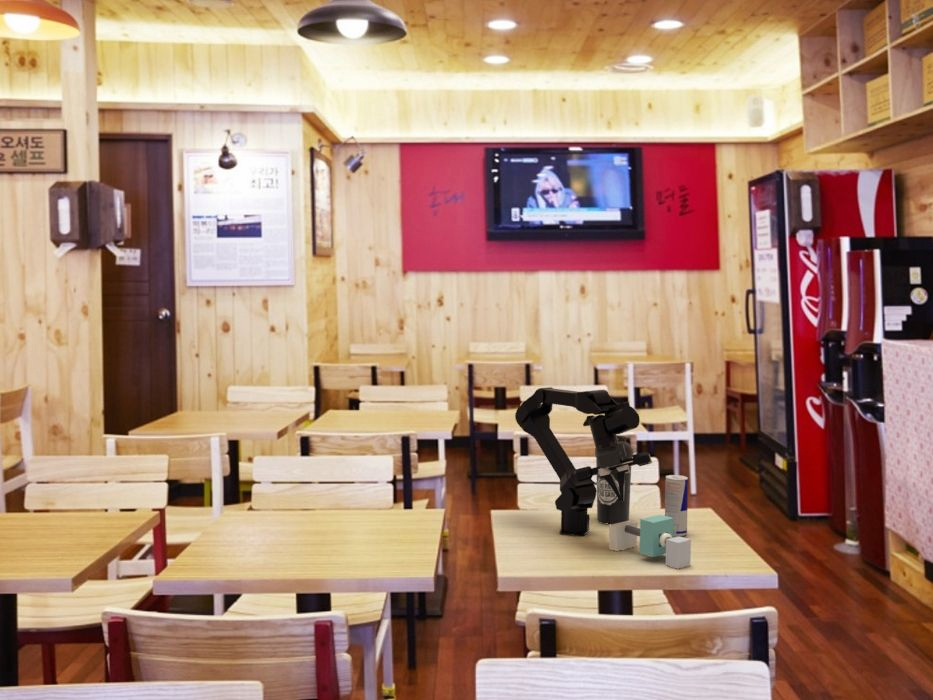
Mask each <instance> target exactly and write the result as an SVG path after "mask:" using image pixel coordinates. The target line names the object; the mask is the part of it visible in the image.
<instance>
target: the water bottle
mask: <svg viewBox="0 0 933 700" xmlns="http://www.w3.org/2000/svg"><path fill="white" fill-rule="evenodd" d="M616 436H617V439H618V443H619V444H620V443H623V445H624V448H625V452H626V457H624V458H623V460H627V459H631V458H633V456H632V455H634V449H633V448H632V446H631V445H630V443H628V442H627V440H628V439H627V436H624V435H620V434H616ZM594 457H595V458H596V459H595V461H596V463H595V467H599V464H598V460H597V451H596V447H595V448H594ZM619 464H621V463H619ZM607 467H609V466H607ZM629 470H630V473H627V475H626V481H625V490H624V501H623V502H620V500H619V499H618V497H617V495H616V494H615V492H614V491H613V489H612V488H611V486H610V485H609V484H608V482H607V481H606V480H605V479H600V478H599V477H600V475H599V474H597V475H596V490H597V492H596V508H597V510H596V512H597V513H596V514H597V516H596V517H597V518H596V519H597V520H598V521H599V522H598V521H597V522H598V523H600V522H602V523H601V524H603V523H608V524H616V523H620V522H625V521H629V520H630V505H631V504H630V502H631V483H632V482H631V478H632V466H629ZM616 472H618V471H617V470H613V471H611V473H610V474H612V475H613V476H614V479H615V482H616V484H617V487H618V489H619V483H618V477H617V473H616ZM619 492H620V490H619ZM608 524H607V525H608Z"/></svg>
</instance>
